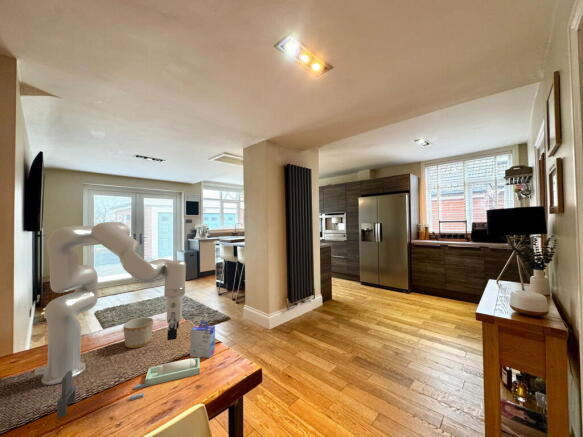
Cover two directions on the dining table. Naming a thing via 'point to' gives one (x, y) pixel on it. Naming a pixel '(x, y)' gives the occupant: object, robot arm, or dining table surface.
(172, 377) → the tray
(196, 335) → the ink cartridge box
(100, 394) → the dining table surface
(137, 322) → the planter
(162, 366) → the capsule
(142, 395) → the pair of grey bars
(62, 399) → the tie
